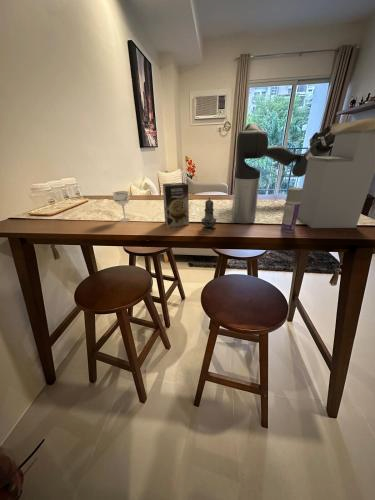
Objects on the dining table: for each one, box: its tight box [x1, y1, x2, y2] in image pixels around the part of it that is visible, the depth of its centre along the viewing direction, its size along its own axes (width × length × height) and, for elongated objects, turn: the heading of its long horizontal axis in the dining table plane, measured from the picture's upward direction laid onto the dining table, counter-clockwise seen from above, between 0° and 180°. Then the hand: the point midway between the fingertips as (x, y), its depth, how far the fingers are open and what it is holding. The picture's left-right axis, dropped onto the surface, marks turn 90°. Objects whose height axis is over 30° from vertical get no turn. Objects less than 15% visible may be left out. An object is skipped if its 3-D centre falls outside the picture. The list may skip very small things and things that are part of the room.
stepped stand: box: [297, 129, 375, 229], centre depth 79 cm, size 16×14×32 cm
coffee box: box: [162, 182, 190, 228], centre depth 85 cm, size 9×6×16 cm
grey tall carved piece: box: [201, 197, 218, 232], centre depth 80 cm, size 6×6×12 cm
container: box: [280, 187, 303, 233], centre depth 76 cm, size 5×5×15 cm
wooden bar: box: [329, 117, 375, 134], centre depth 73 cm, size 4×24×3 cm, turn 177°
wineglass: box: [112, 190, 131, 223], centre depth 93 cm, size 7×7×12 cm
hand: (341, 127), depth 81 cm, fingers open, 8 cm apart
